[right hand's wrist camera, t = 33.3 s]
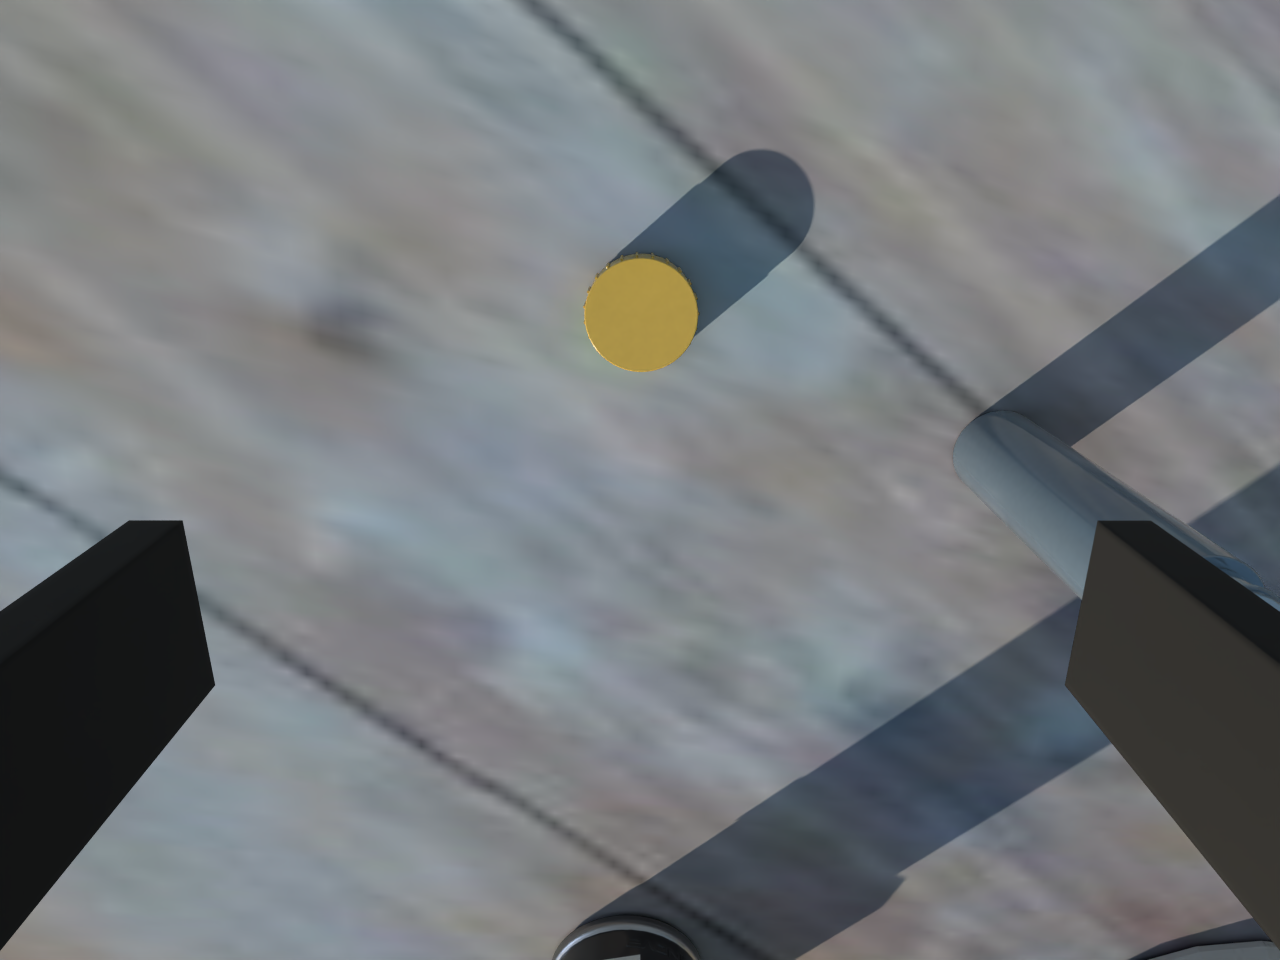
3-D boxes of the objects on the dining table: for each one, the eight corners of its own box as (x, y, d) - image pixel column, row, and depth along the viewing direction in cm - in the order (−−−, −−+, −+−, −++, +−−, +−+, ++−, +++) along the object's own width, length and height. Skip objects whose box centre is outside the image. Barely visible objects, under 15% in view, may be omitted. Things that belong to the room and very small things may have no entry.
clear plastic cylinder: (1059, 442, 42) (1339, 631, 25) (997, 508, 43) (1226, 731, 26) (995, 393, 41) (1241, 554, 24) (934, 461, 42) (1129, 660, 25)
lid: (718, 289, 39) (722, 295, 38) (659, 384, 41) (660, 394, 39) (621, 229, 38) (620, 233, 37) (565, 328, 40) (561, 336, 38)
